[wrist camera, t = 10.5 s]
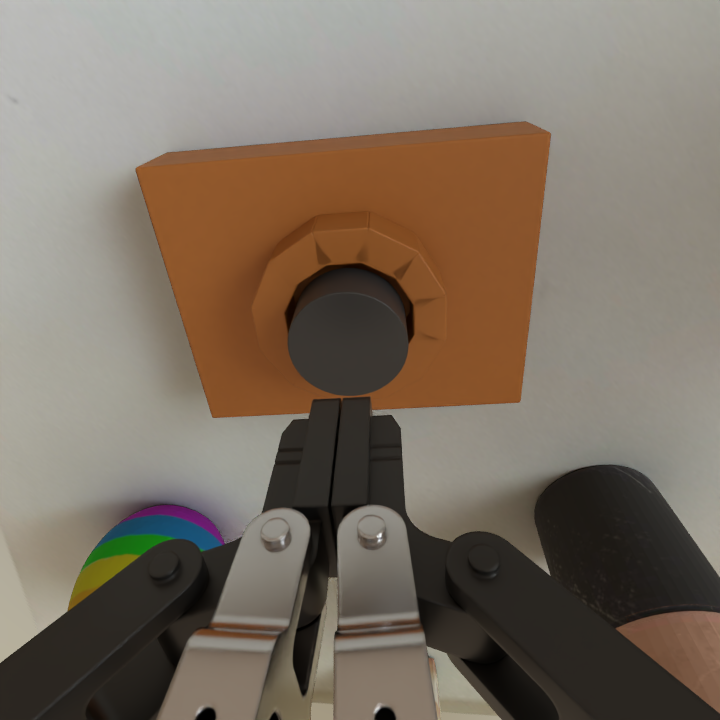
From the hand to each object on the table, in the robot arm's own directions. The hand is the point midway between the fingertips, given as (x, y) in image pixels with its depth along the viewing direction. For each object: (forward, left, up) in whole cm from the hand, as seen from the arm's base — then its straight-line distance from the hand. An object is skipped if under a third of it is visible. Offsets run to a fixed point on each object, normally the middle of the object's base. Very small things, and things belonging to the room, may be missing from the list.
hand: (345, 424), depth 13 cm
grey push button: (0, 0, -6) cm, 6 cm away
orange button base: (0, 0, -11) cm, 11 cm away
